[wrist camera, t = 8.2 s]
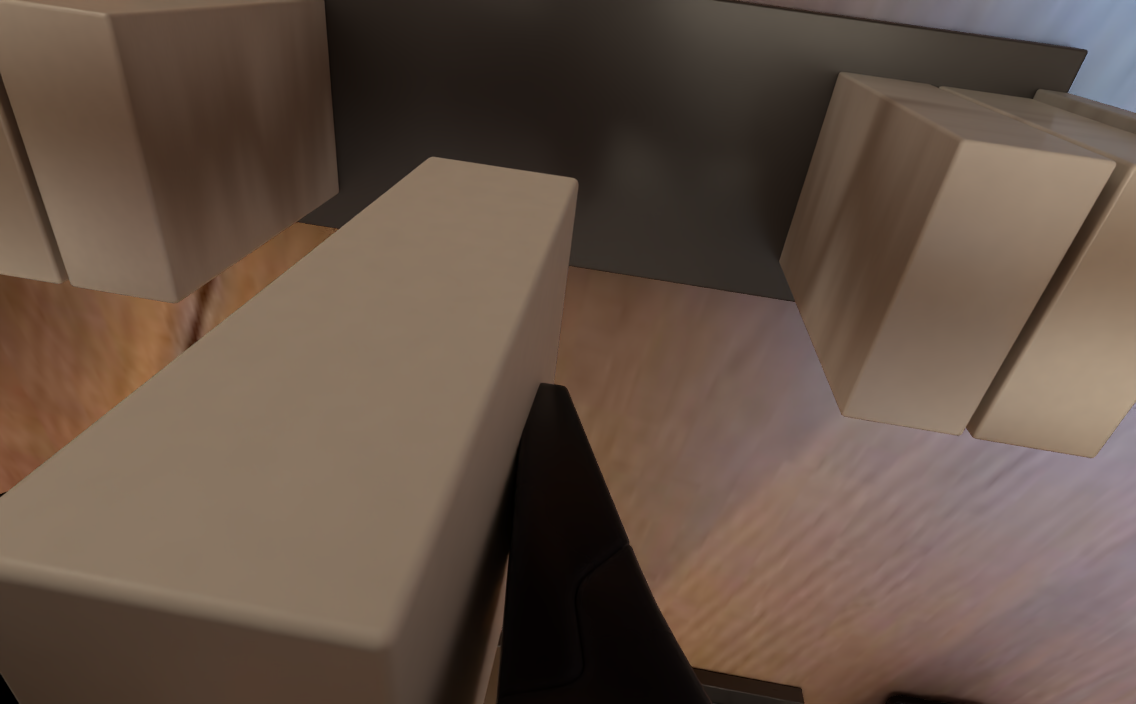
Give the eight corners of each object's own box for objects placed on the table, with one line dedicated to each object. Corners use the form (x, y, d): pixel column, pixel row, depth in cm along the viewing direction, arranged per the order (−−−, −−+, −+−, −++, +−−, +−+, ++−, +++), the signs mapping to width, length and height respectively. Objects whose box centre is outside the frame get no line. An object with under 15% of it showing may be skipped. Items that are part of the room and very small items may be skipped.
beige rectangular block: (546, 448, 13) (410, 1000, 6) (429, 427, 13) (165, 946, 6) (579, 177, 10) (392, 649, 3) (429, 154, 10) (-88, 555, 3)
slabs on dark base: (940, 315, 21) (1100, 512, 13) (190, 196, 22) (-57, 313, 14) (1072, 47, 16) (1420, 109, 9) (133, -84, 18) (-260, -125, 10)
